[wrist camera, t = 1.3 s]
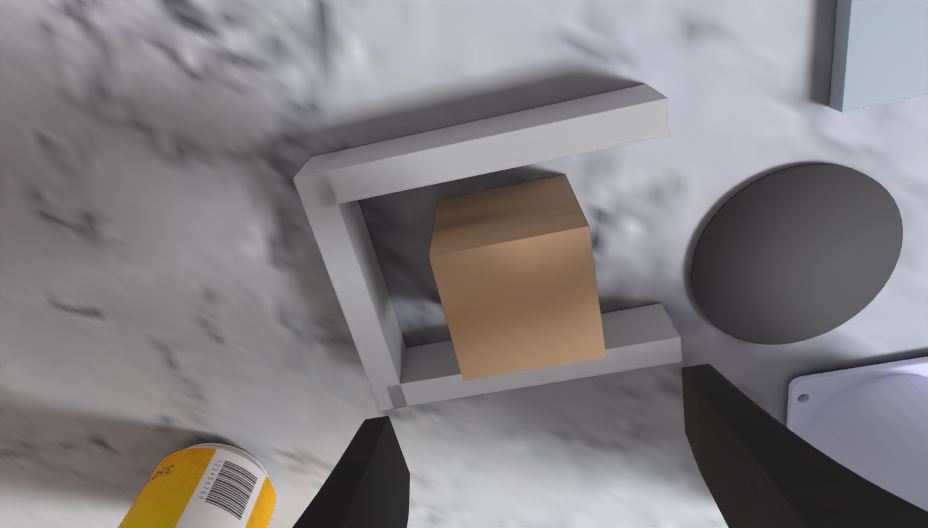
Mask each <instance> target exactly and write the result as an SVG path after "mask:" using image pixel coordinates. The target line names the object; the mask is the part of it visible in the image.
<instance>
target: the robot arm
mask: <svg viewBox="0 0 928 528" xmlns="http://www.w3.org/2000/svg"><path fill="white" fill-rule="evenodd" d="M682 381H683V399H684V418H685V433H686V435H687V438H688V441H689V444H690V446H691V449H692V452H693V454H694V457H695V460H696V462H697V465H698V467H699V470H700V472H701V474H702V476H703V478H704V480H705V482H706V484H707V486H708V488H709V490H710V492H711V494H712V496H713V498H714V500H715V502H716V504H717V506H718V508H719V510H720V512H721V514H722V515H723V517H724V519H725V521H726V523H727V525H728V527H729V528H928V356H927V357H921V358H914V359H908V360H901V361H895V362H889V363H882V364H876V365H870V366H863V367H857V368H851V369H844V370H838V371H831V372H825V373H819V374H812V375H806V376H800V377H797V378H795V379H793V380H792V381H791V383H790V384H789V392H788V411H787V427H786V426H784V425H783V424H782V423H780V422H779V421H778V420H776V419H775V418H774V417H773V416H771V415H770V414H769V413H767V412H766V411H765V410H763V409H762V408H761V407H760V406H758V405H757V404H756V403H755V402H753V401H752V400H751V399H750V398H749V397H747V396H746V395H745V394H744V393H743V392H741V391H740V390H739V389H738V388H737V387H736V386H734V385H733V384H732V383H731V382H730V381H729V380H727V379H726V378H725V377H724V376H723V375H722V374H721V373H719V372H718V371H717V370H716V369H715V368H714V367H712V366H711V365H709V364H703V365H697V366H691V367H685V368H682ZM802 394H804V395H803V396H801V397H799V396H800V395H802ZM409 489H410V473H409V470H408V467H407V465H406V462H405V459H404V456H403V454H402V451H401V448H400V446H399V443H398V440H397V437H396V435H395V432H394V429H393V427H392V424H391V421H390V418H389V416H384V417H378V418H372V419H365V421H364V422H363V423H362V425H361V427H360V428H359V430H358V431H357V433H356V434H355V436H354V438H353V439H352V441H351V443H350V444H349V446H348V447H347V449H346V451H345V452H344V454H343V455H342V457H341V458H340V460H339V462H338V463H337V465H336V466H335V468H334V469H333V471H332V472H331V474H330V475H329V477H328V478H327V480H326V481H325V483H324V484H323V486H322V487H321V489H320V490H319V492H318V493H317V495H316V496H315V497H314V499H313V500H312V502H311V503H310V504H309V506H308V507H307V508H306V510H305V511H304V512H303V514H302V515H301V517H300V518H299V519H298V521H297V522H296V523H295V525H294V526H293V527H292V528H407V522H408V515H409Z"/></svg>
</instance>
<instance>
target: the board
mask: <svg viewBox="0 0 928 528" xmlns="http://www.w3.org/2000/svg"><path fill="white" fill-rule="evenodd" d="M924 95H928V0H837V9H836V23H835V36H834V49H833V63H832V76H831V90H830V103H829V107H830V108H833V109H835V110H838V111H840V112H846V111H851V110H855V109H860V108H865V107H870V106H875V105H880V104H885V103H890V102H895V101H899V100H904V99H909V98H914V97H919V96H924Z"/></svg>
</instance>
